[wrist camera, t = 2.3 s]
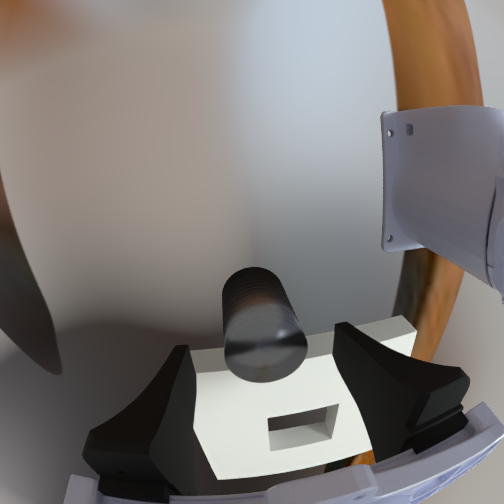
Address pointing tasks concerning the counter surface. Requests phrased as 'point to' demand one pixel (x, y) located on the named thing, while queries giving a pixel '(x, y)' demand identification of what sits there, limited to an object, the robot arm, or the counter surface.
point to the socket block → (284, 409)
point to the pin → (260, 327)
